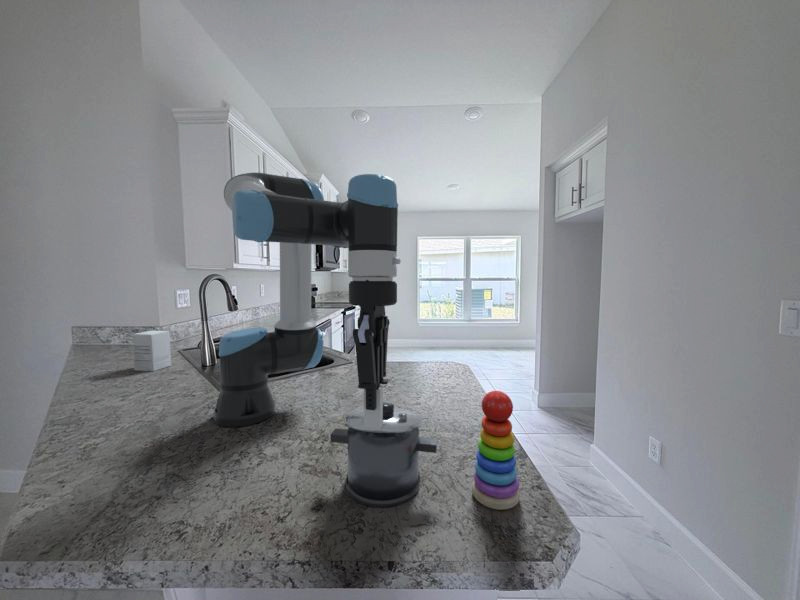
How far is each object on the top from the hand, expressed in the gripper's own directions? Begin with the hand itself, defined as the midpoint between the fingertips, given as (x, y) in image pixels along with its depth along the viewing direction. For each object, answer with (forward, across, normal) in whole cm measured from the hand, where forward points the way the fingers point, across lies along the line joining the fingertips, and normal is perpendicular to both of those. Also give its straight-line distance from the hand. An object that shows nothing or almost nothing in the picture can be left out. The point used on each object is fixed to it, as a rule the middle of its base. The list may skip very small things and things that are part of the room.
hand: (373, 425), depth 52 cm
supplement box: (+14, +61, +111) cm, 127 cm away
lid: (+3, +7, 0) cm, 8 cm away
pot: (+14, +7, 0) cm, 16 cm away
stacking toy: (+14, +7, -20) cm, 25 cm away
